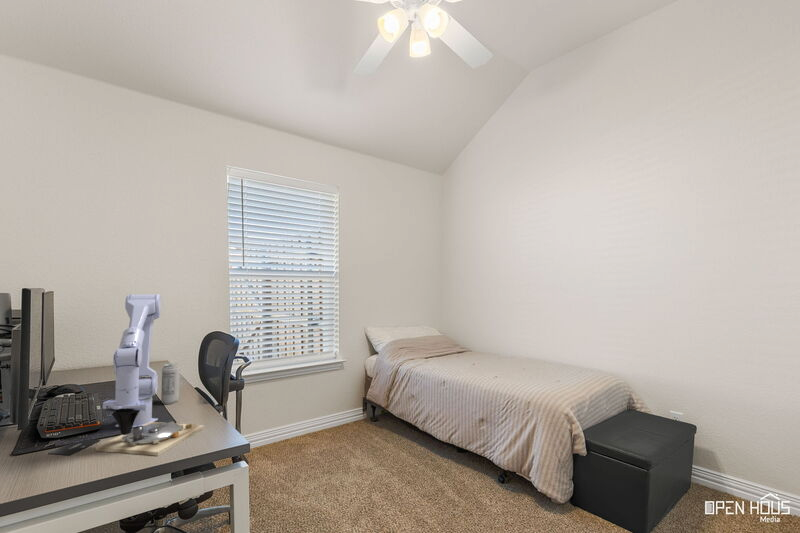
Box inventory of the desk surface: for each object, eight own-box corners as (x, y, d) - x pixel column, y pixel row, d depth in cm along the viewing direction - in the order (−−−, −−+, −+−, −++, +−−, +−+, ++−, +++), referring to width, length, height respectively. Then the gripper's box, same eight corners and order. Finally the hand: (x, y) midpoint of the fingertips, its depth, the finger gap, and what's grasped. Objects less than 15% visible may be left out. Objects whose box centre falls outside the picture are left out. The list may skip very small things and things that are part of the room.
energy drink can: (182, 400, 158) (182, 363, 158) (172, 405, 152) (172, 366, 152) (168, 399, 159) (169, 362, 159) (157, 404, 153) (158, 365, 153)
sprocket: (108, 443, 114) (108, 428, 114) (150, 423, 130) (150, 409, 130) (157, 447, 112) (157, 431, 112) (194, 426, 128) (194, 412, 128)
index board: (95, 450, 112) (95, 442, 112) (149, 424, 132) (149, 418, 132) (158, 455, 110) (158, 447, 110) (203, 428, 129) (203, 421, 129)
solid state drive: (100, 442, 119) (101, 439, 119) (68, 457, 109) (68, 454, 109) (81, 440, 120) (81, 438, 120) (47, 455, 110) (47, 452, 110)
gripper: (93, 390, 114) (92, 437, 114) (138, 393, 112) (136, 440, 112) (114, 383, 121) (113, 428, 121) (156, 386, 119) (155, 431, 119)
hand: (126, 433), depth 117 cm, fingers closed
